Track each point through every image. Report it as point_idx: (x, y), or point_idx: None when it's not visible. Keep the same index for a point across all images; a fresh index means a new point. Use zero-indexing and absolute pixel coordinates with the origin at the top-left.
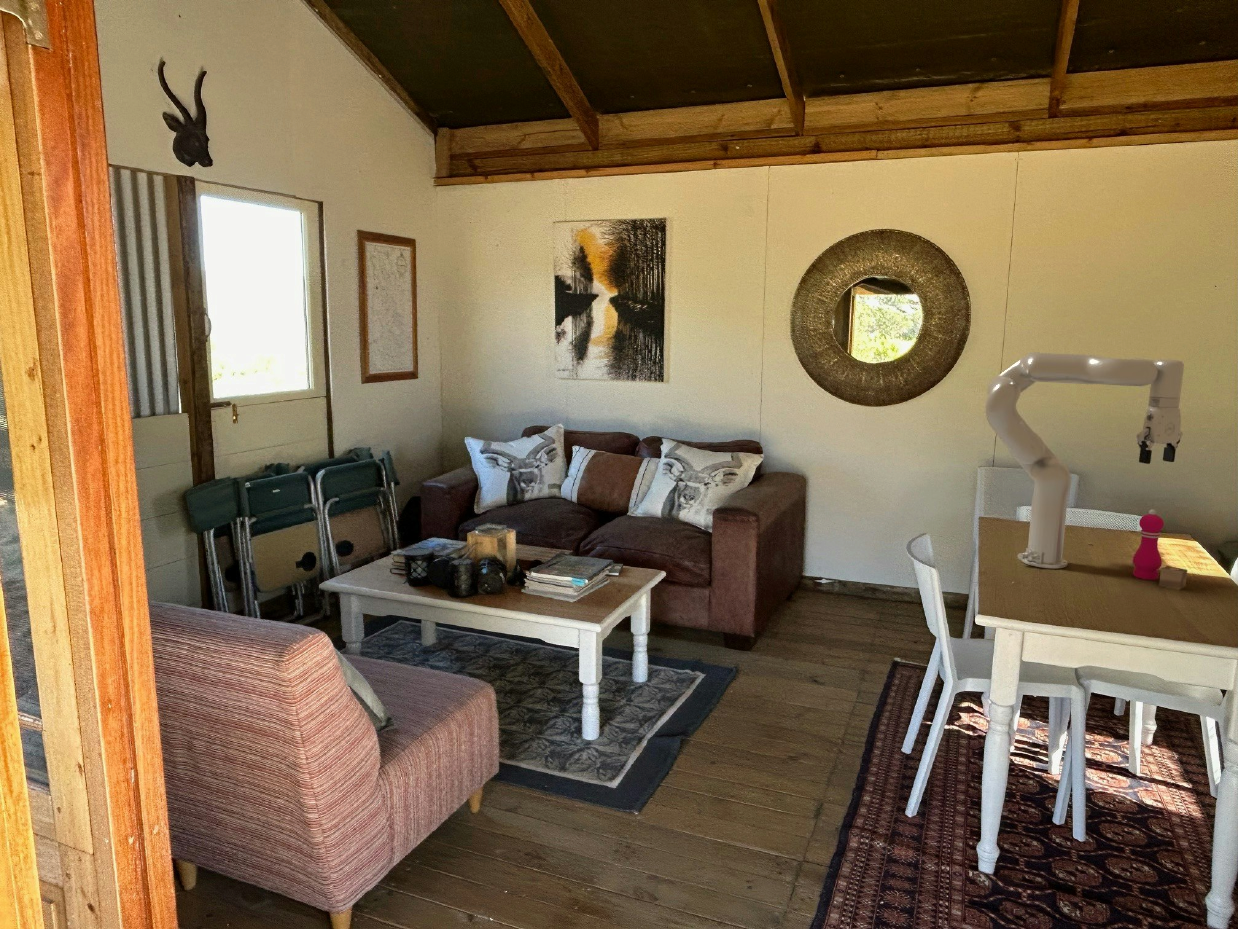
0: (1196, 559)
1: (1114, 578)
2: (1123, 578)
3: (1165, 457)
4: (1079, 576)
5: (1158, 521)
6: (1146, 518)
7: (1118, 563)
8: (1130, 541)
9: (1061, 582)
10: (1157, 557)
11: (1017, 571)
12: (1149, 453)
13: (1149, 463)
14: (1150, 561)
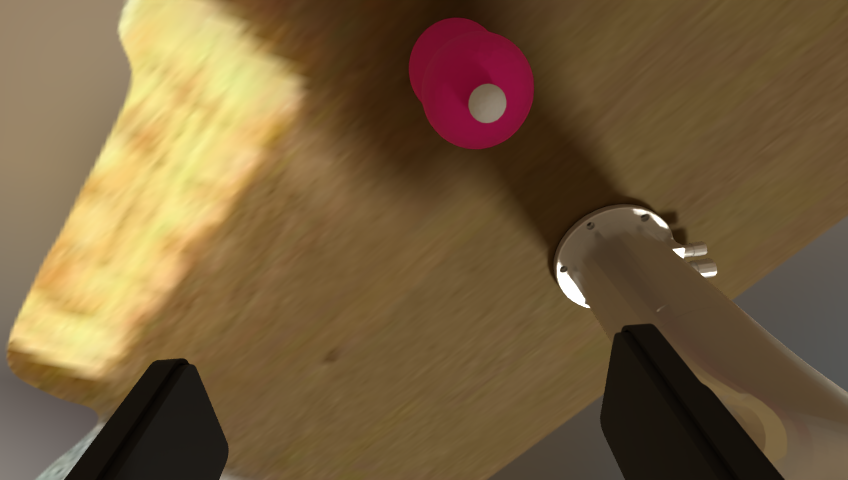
0: (117, 174)
1: (562, 79)
2: (535, 70)
3: (205, 466)
4: (641, 128)
5: (494, 41)
6: (528, 92)
7: (407, 203)
8: (191, 358)
9: (751, 93)
10: (459, 25)
11: (749, 215)
12: (748, 451)
13: (636, 324)
14: (485, 30)
